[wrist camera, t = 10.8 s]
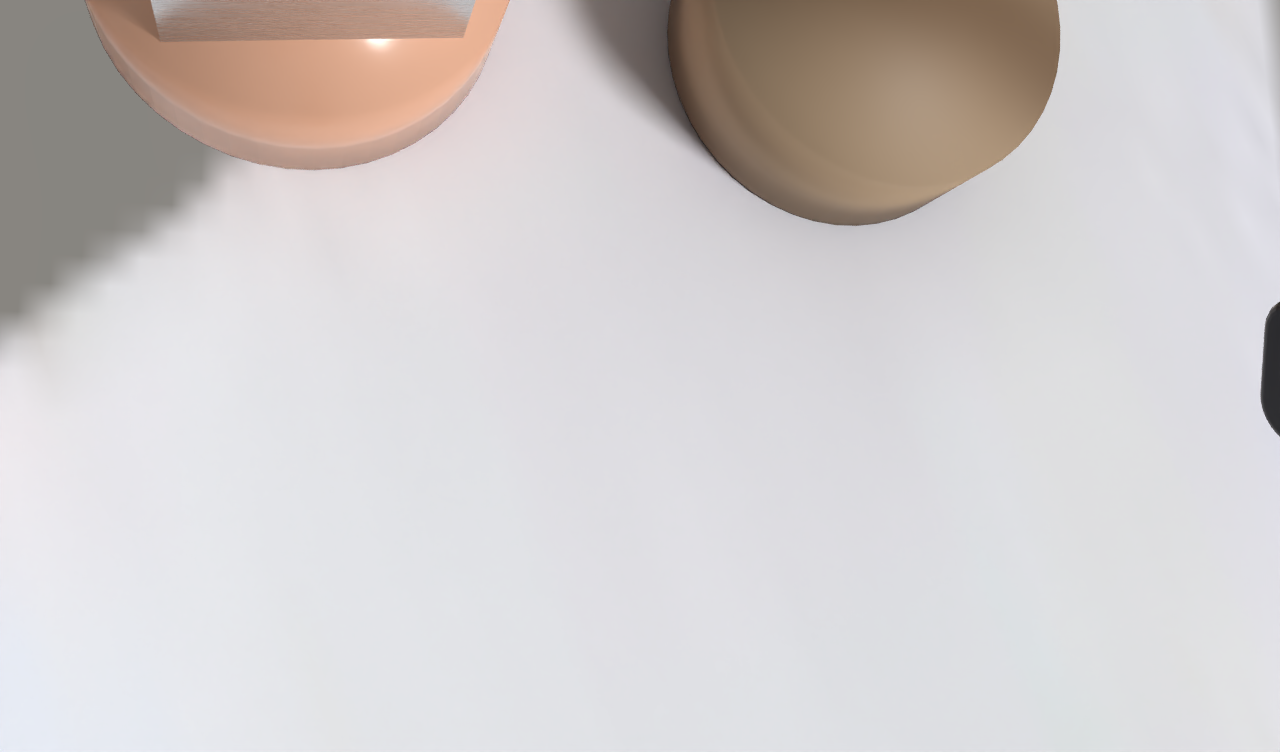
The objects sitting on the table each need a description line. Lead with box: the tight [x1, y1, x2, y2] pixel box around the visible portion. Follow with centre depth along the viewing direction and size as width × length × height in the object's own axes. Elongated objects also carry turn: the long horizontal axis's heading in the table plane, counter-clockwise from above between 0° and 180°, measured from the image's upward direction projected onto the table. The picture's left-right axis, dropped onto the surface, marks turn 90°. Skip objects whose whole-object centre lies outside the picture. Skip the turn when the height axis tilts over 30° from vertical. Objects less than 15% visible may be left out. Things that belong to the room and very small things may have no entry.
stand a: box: [667, 0, 1060, 226], centre depth 22 cm, size 7×7×2 cm
